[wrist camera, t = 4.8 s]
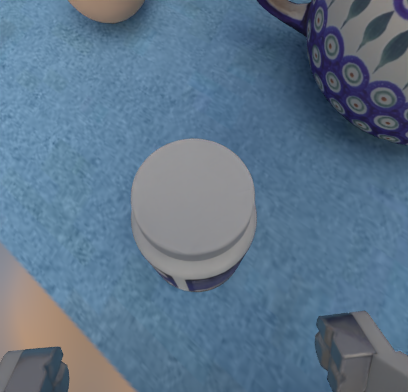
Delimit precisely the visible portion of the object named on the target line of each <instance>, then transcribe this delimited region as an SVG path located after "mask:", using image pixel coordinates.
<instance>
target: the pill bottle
mask: <svg viewBox="0 0 408 392" xmlns="http://www.w3.org/2000/svg"><path fill="white" fill-rule="evenodd" d="M131 206H132V212H131V226H132V232H133V236H134V239H135V241H136V244H137V246H138V248H139V249H140V251H141V253H142V254H143V256H144V257H145V258H146V259H147V260H148V262H149V263H150V264H151V265H152V266H153V267H154V269H155V270H156V271H157V272H158V273H159V274H160V275H161V276H162V277H163V279H165V280H166V281H167V282H168V283H170V284H171V285H173V286H175V287H177V288H179V289H182V290H185V291H190V292H202V291H208V290H211V289H214V288H216V287H218V286H220V285H221V284H223V283H224V282H225V281H227V280H228V279H229V278H230V277H231V276H232V274H233V273H234V272H235V270H236V269H237V267H238V265H239V264H240V262H241V260H242V259H243V257H244V255H245V254H246V252H247V251H248V249H249V247H250V245H251V243H252V240H253V238H254V234H255V230H256V224H257V212H256V206H255V190H254V184H253V180H252V177H251V175H250V173H249V171H248V169H247V167H246V166H245V164H244V163H243V162H242V160H241V159H240V158H239V157H238V156H237V155H236V154H235V153H233V152H232V151H231V150H229V149H228V148H226V147H225V146H223V145H221V144H218V143H216V142H213V141H209V140H204V139H183V140H179V141H175V142H172V143H169V144H166V145H165V146H163V147H161V148H159V149H158V150H156V151H155V152H154V153H152V154H151V155H150V156H149V157H148V158H147V159H146V160H145V161H144V162H143V164H142V165H141V166H140V168H139V170H138V171H137V173H136V175H135V178H134V181H133V185H132V189H131Z"/></svg>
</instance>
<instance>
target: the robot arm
mask: <svg viewBox="0 0 408 392" xmlns="http://www.w3.org/2000/svg"><path fill="white" fill-rule="evenodd" d="M316 326H317V328H318V330H319V332H318V333H317V334H316V335H315V349H316V354H317V357H318V360H319V362H320V365H321V366H322V367H323V368H324V369H326V370H327V371H328V375H327V380H328V382H329V385H330V387H331V389H332V391H333V392H408V356H407V355H406V354H404V353H402V352H401V351H397V352H395V350H394V349H393V348H392V346H391V345H390V343H389V342H388V341H387V339H386V338H385V336H384V335H383V334H382V332H381V331H380V329H379V328H378V326H377V325H376V324H375V322H374V321H373V319H372V318H371V317H370V315H369V314H368V313H367V312H366V311H358V312H350V313H341V314H333V315H325V316H319V317H318V319H317V324H316ZM62 357H63V353H62V350H61V348H60V347H48V348H36V349H26V350H17V351H8V352H7V353H6V354H5V355H4V356H3V359H2V360H1V362H0V392H68V388H69V370H68V368H67V365H66V364H65V363H63V362H62V361H61V360H62Z"/></svg>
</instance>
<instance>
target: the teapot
mask: <svg viewBox="0 0 408 392" xmlns="http://www.w3.org/2000/svg"><path fill="white" fill-rule="evenodd" d="M257 1H258V3H259V4H260V5H261V6H262V7H263V8H264V9H265V10H267V11H268V12H269V13H270V14H272V15H273V16H275V17H277V18H278V19H279V20H281V21H282V22H284V23H285V24H287V25H288V26H290V27H292V28H294V29H295V30H297V31H298V32H300V33H302V34H303V35H304V36H306V37H307V52H308V59H309V64H310V67H311V70H312V74H313V77H314V79H315V80H316V82H317V84H318V86H319V88H320V90H321V91H322V93H323V94H324V96H325V97H326V99H327V100H328V101H329V102H330V103H331V104H332V106H333V107H334V108H335V109H336V110H337V111H338V112H339V113H340V114H341V115H343V116H344V117H345V118H346V119H347V120H348V121H350V122H351V123H352V124H354V125H355V126H357V127H358V128H360V129H362V130H363V131H365V132H367V133H369V134H372V135H374V136H376V137H378V138H381V139H384V140H387V141H391V142H394V143H398V144H403V145H408V0H312V1H311V2H310V3H308V4H296V3H293V2H291V1H288V0H257Z"/></svg>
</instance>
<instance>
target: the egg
mask: <svg viewBox="0 0 408 392" xmlns="http://www.w3.org/2000/svg"><path fill="white" fill-rule="evenodd" d="M68 1H69V2H70V3H71V4H72V5H73V6H74V7H75V8H76V9H77V10H78V11H79V12H80V13H82V14H83V15H84V16H86V17H88V18H90V19H92V20H95V21H98V22H101V23H118V22H121V21H125V20H127V19H128V18H130V17H131V16H133V15H134V14H135V13H136V12H137V11H138V10H139V9H140V7H141V6H142V4H143V3H144V1H145V0H68Z"/></svg>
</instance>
